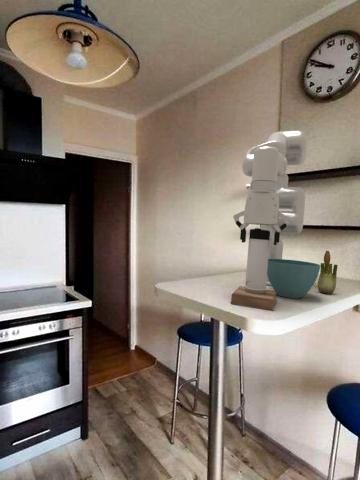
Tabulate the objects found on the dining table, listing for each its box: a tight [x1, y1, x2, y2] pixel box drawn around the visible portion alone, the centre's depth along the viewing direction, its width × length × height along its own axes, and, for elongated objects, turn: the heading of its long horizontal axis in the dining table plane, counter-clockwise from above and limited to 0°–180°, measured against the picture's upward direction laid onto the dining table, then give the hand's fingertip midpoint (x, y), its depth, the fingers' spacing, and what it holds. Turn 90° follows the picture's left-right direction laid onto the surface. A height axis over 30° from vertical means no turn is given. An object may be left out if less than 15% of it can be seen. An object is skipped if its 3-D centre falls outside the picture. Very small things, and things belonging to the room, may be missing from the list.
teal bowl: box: [267, 258, 321, 299], centre depth 103 cm, size 18×18×12 cm
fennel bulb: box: [317, 262, 338, 295], centre depth 111 cm, size 6×5×12 cm
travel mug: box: [244, 227, 270, 294], centre depth 90 cm, size 6×7×20 cm
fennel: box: [314, 250, 337, 289], centre depth 125 cm, size 8×8×16 cm
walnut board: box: [230, 285, 277, 312], centre depth 90 cm, size 14×12×3 cm
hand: (259, 243), depth 90 cm, fingers open, 9 cm apart
